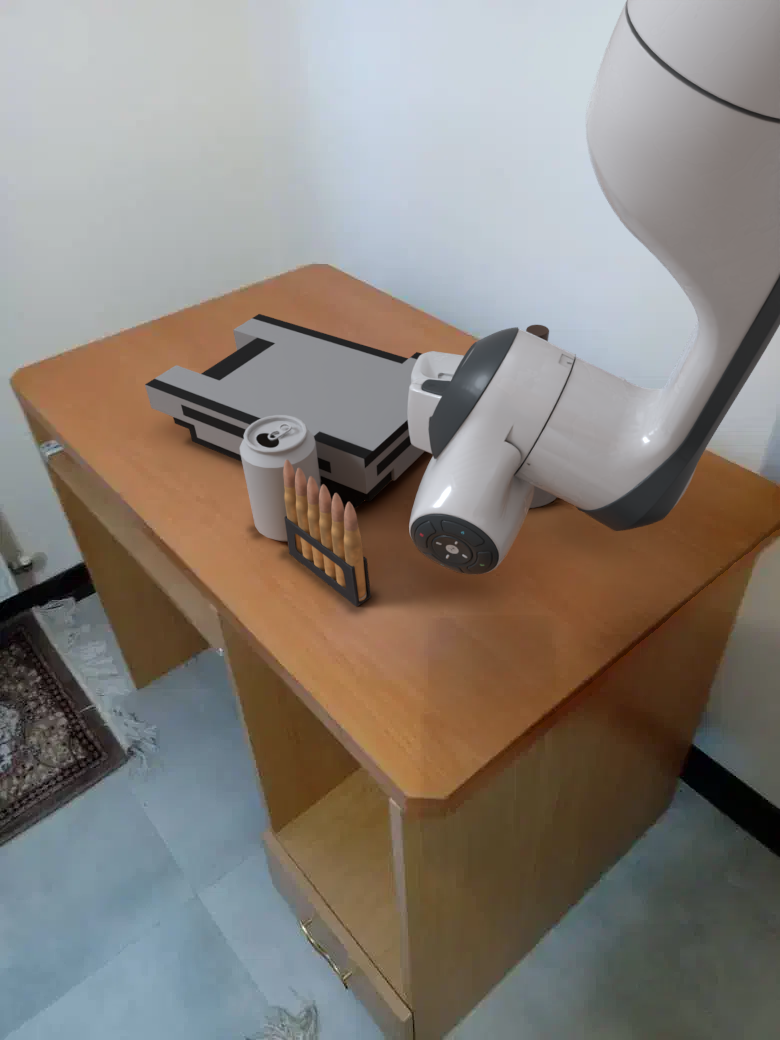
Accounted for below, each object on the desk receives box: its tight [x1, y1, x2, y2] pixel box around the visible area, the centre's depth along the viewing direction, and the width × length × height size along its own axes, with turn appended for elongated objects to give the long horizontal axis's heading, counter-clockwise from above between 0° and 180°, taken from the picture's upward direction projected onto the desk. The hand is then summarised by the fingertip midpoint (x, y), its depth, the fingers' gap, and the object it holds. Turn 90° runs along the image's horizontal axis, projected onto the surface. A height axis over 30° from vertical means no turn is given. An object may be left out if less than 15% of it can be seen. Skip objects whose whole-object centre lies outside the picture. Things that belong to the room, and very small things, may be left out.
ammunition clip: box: [283, 459, 372, 607], centre depth 75 cm, size 11×2×12 cm, turn 43°
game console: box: [144, 313, 426, 509], centre depth 95 cm, size 21×32×8 cm, turn 56°
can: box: [240, 415, 321, 542], centre depth 81 cm, size 8×8×12 cm
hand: (533, 354), depth 79 cm, fingers open, 6 cm apart
